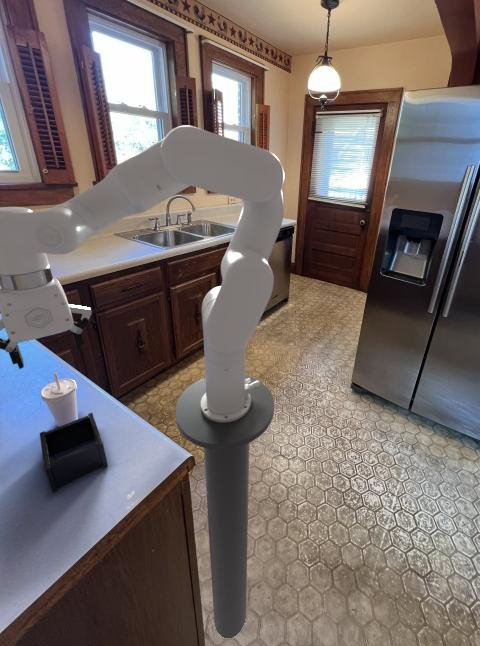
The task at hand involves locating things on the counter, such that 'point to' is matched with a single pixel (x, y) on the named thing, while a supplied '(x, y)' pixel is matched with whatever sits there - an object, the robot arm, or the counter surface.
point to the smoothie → (61, 400)
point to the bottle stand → (77, 461)
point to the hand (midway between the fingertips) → (51, 356)
